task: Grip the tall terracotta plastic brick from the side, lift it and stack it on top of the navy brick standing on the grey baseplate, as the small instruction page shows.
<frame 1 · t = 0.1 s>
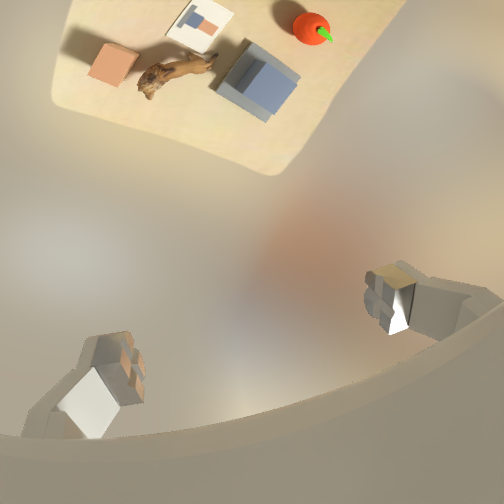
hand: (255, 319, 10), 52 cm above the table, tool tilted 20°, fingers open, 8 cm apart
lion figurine: (177, 69, 46), on the table, touching instruction page
terracotta brick: (119, 61, 41), on the table
instruction page: (200, 23, 41), on the table
tower base: (257, 82, 51), on the table
clementine: (305, 30, 45), on the table
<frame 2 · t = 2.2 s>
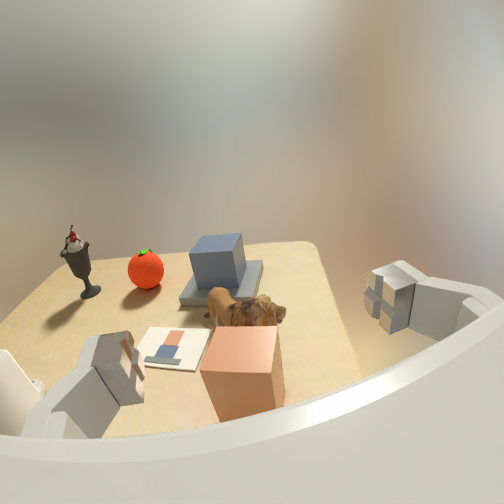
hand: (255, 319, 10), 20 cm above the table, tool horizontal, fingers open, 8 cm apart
sundae: (91, 293, 56), on the table
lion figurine: (242, 342, 38), on the table, touching instruction page
terracotta brick: (255, 408, 28), on the table
instruction page: (170, 347, 38), on the table
tower base: (224, 285, 52), on the table
clementine: (152, 285, 56), on the table
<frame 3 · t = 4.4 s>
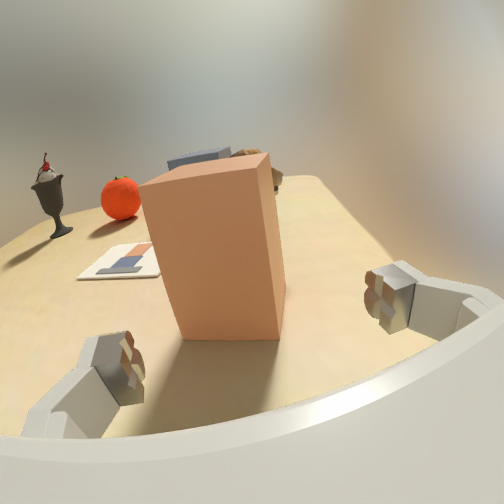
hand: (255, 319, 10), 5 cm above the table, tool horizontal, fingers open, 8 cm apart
sundae: (62, 234, 47), on the table
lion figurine: (226, 246, 29), on the table, touching instruction page
terracotta brick: (238, 311, 19), on the table
instruction page: (132, 259, 29), on the table
tower base: (210, 207, 43), on the table
clementine: (128, 218, 47), on the table
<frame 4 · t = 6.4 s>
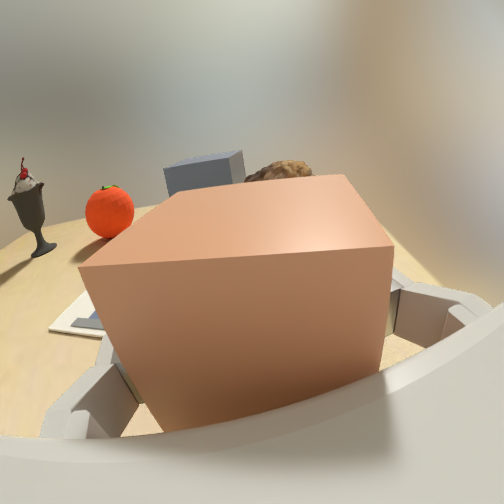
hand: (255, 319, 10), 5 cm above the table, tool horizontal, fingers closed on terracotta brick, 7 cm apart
sundae: (44, 251, 39), on the table
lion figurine: (245, 292, 21), on the table, touching instruction page
terracotta brick: (277, 424, 11), on the table, touching gripper
instruction page: (118, 304, 21), on the table
tower base: (217, 225, 35), on the table
clementine: (118, 235, 39), on the table
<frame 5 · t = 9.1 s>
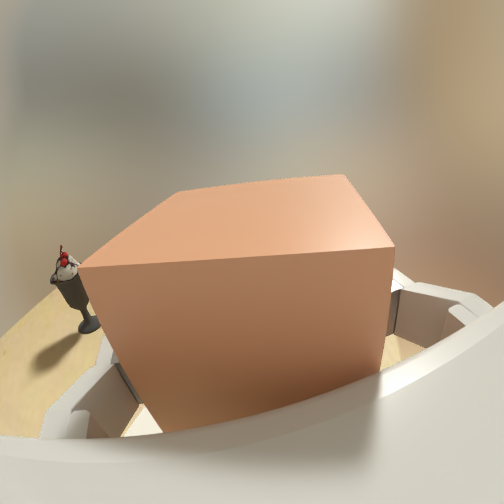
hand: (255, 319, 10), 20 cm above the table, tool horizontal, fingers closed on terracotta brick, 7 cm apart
sundae: (91, 325, 44), on the table
terracotta brick: (277, 425, 11), point 15 cm above the table, touching gripper
instruction page: (167, 445, 24), on the table
when the fingers open (14 cm above the table, at t = 12.1 s): terracotta brick drops 1 cm, resting on tower base.
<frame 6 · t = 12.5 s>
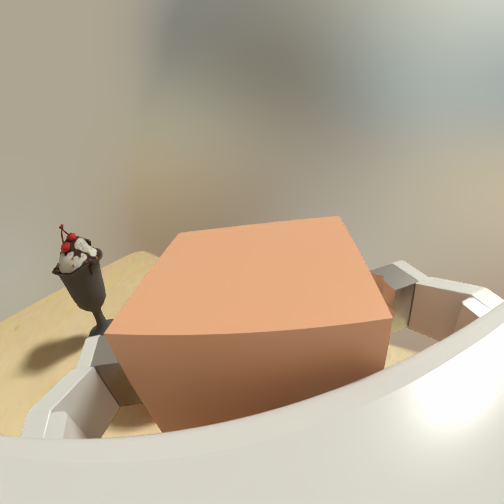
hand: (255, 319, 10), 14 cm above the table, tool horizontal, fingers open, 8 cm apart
sundae: (106, 332, 34), on the table
terracotta brick: (279, 440, 11), point 8 cm above the table, touching tower base
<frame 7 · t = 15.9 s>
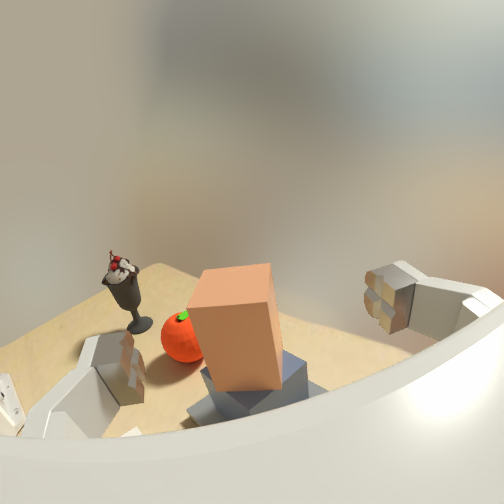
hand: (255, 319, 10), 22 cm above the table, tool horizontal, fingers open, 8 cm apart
sundae: (140, 326, 49), on the table
terracotta brick: (251, 367, 26), point 8 cm above the table, touching tower base
tower base: (264, 415, 29), on the table
clementine: (196, 354, 41), on the table
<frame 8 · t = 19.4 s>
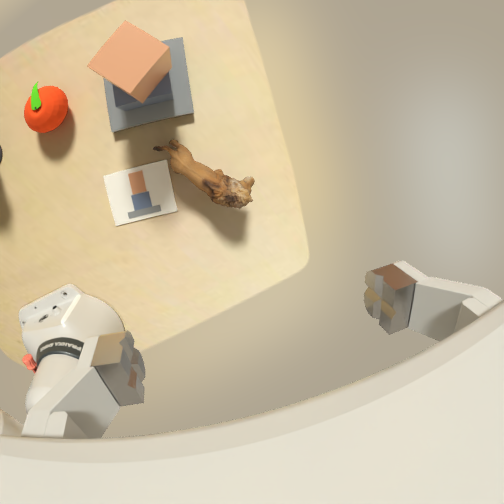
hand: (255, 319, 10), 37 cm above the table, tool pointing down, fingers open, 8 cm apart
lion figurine: (201, 168, 43), on the table, touching instruction page
terracotta brick: (139, 73, 29), point 8 cm above the table, touching tower base
instruction page: (140, 193, 42), on the table
tower base: (146, 84, 36), on the table
clementine: (54, 107, 34), on the table
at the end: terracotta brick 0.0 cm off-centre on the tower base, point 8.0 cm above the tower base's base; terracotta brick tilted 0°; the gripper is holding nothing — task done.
